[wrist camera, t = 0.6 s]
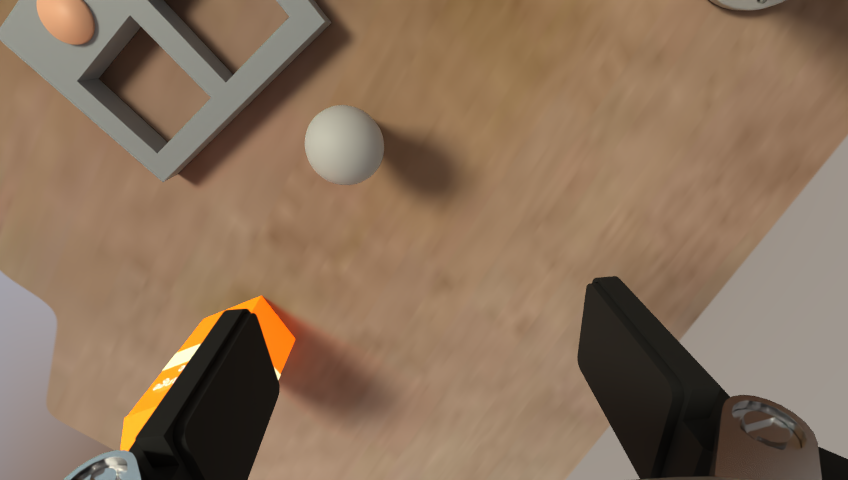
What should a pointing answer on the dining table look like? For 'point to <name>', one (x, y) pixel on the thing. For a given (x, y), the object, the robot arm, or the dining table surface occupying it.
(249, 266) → the dining table surface
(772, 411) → the robot arm
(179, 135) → the socket board
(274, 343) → the orange juice
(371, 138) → the lightbulb
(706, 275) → the dining table surface
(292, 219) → the dining table surface
